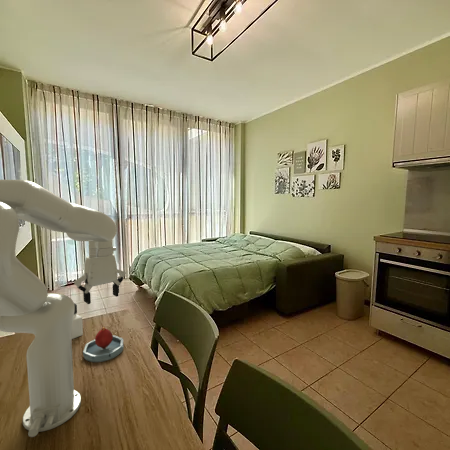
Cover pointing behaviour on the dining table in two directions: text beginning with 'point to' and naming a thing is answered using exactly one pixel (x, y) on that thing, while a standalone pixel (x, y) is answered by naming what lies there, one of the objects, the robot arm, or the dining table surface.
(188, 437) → the dining table surface
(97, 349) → the dish
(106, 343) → the onion
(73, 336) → the container
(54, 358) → the robot arm
